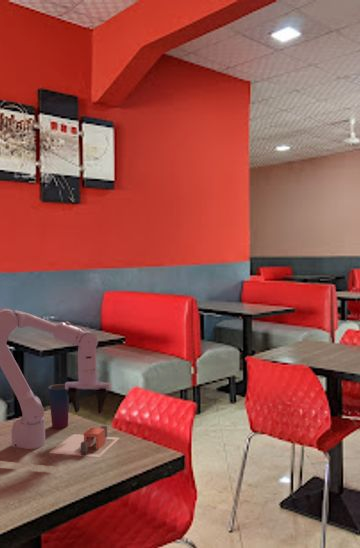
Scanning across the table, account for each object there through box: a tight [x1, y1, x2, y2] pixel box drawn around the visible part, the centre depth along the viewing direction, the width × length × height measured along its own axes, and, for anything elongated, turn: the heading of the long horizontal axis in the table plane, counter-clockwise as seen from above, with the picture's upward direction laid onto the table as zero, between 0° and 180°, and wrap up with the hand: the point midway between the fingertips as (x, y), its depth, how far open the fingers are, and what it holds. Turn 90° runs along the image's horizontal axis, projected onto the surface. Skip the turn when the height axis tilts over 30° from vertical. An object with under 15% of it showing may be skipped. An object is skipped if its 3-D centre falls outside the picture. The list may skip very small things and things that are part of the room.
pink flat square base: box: [48, 425, 121, 458], centre depth 161 cm, size 16×16×5 cm
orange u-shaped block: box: [83, 427, 106, 450], centre depth 160 cm, size 5×5×5 cm
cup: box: [48, 383, 70, 430], centre depth 178 cm, size 7×7×15 cm
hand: (88, 411), depth 168 cm, fingers open, 7 cm apart
